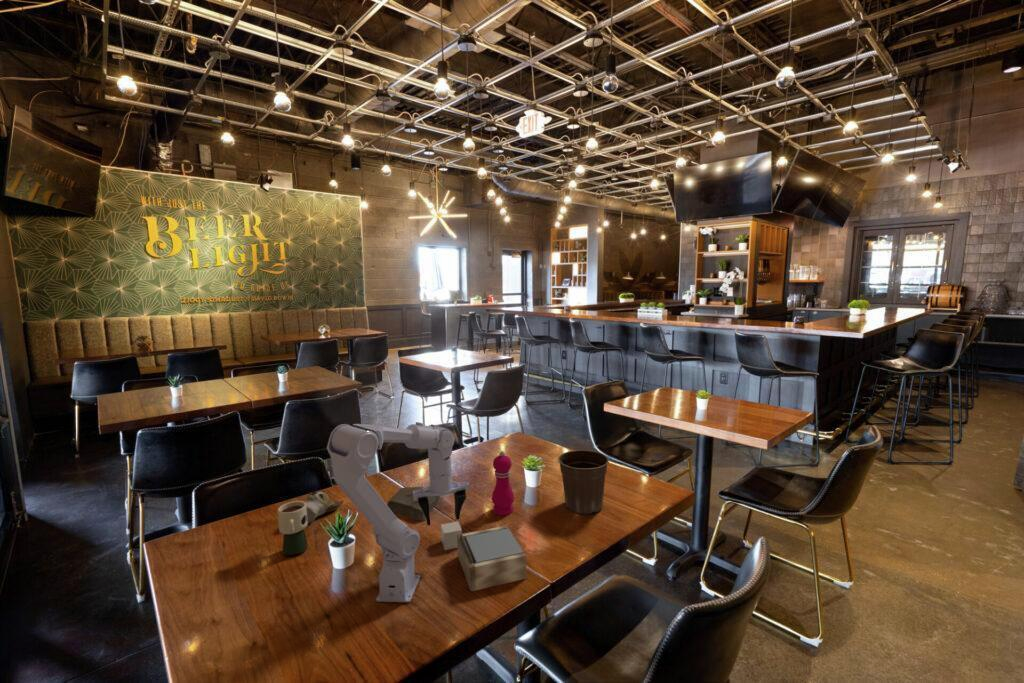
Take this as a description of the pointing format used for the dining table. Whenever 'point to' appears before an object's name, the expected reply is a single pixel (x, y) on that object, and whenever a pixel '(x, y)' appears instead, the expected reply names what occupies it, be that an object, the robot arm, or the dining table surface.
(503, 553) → the trapdoor flap
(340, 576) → the dining table surface
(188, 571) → the dining table surface
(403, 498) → the dark grey rock slab
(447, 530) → the pale grey cube
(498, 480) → the pepper mill
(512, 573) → the frame
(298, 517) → the character mug
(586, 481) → the plant pot
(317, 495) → the ceramic sculpture
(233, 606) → the dining table surface
